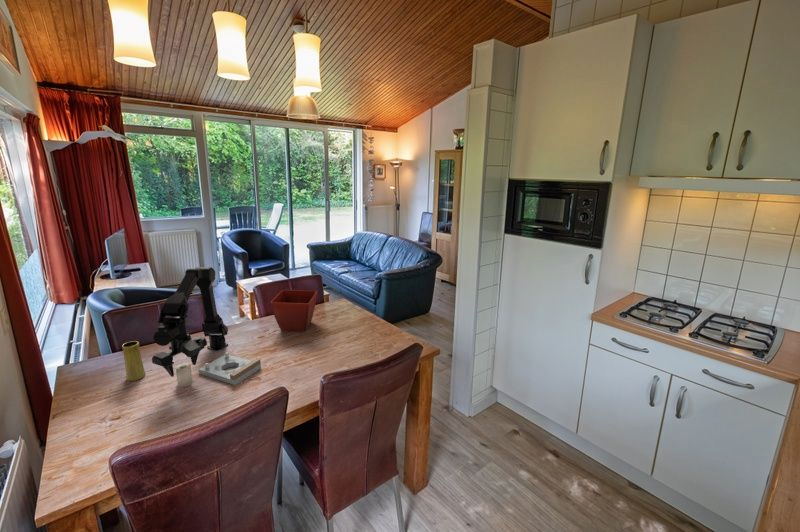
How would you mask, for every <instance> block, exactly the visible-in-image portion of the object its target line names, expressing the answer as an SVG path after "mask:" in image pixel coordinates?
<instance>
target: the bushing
mask: <svg viewBox="0 0 800 532" xmlns="http://www.w3.org/2000/svg"><path fill="white" fill-rule="evenodd" d="M191 366H192V365H191V364H190V363H182V364H179V365H177V366H175V374H176V375H175V376H176V381H177V386H178V387H180V388H184V387H188V386H190V385H192V384H193V382H194V381H193V374H192V367H191Z"/></svg>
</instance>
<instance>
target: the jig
mask: <svg viewBox="0 0 800 532" xmlns="http://www.w3.org/2000/svg"><path fill="white" fill-rule="evenodd" d="M261 362H262V361H261V359H260V358H257V357H256V358H255V359H253V360H249V359H245V358H242V357H239V356H235V355H232V354H230V352H229V351H226V352H224V354H223V355H222V356H220V357H218V358H217V359H215V360H213V361H211V362H206V363H204V366H202V367H200V368H198V373H199V374H200V375H202V376H206V377H208V378H211V379H215V380H218V381H222V382H225V383H228V384H231V385H233V386H235V385H237V384H238V383H240V382H242V381H243V380H245V379H246V378H248V377H249V376H251V375H252V374H255V372H257V371H258V370H260V369H261V368H262V365H261V364H262V363H261ZM232 367H236V368H234V369H230V370H225V369H227V368H232Z"/></svg>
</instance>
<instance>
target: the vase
mask: <svg viewBox="0 0 800 532" xmlns="http://www.w3.org/2000/svg"><path fill="white" fill-rule="evenodd" d="M121 347H122V352H123V357H124V359H123V360H124V365H125V372H126V373H125V374H126V375H125V376H126V380H127V381H128V382H129V381H130V382H135V381H139V380H140V379H142V378H144V377H145V376H146V371H145V367H144V363H143V360H142V359H143V358H142V354H141V349H140V342H139V341H138V340H133V341H132V340H131V341H127V342H125V343H123V344H122V345H121Z"/></svg>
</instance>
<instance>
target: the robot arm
mask: <svg viewBox="0 0 800 532" xmlns="http://www.w3.org/2000/svg"><path fill="white" fill-rule="evenodd" d="M215 280H216V270H215V268H213V267H211V266H210V267H209V266H208V267H207V266H205V267H204V266H199V267H198V266H196V267H194V268H187V269H186V270H185V273H184V276H183V277H182V280H181V282H180V283H179V285H178V287H177V289H176V291H175V292H174V294H173V295H171V296H169V297H167V299H166V300H165V302H163V304H162V306H161V309H160V314H159V317H158V322H157V323H158V324H162V325H159V326H158V327H157V331H156V332H154V334H153V336H152V338H153V341H154V343H156V344H157V345H158V346H161V347H162V346H163V347H165V346H168V345H169V344H170V346H168V349H169V350H171V351H169V352H165V351H161V352H159V353H157V354H155V355H153V356H152V357H151V363H152V364H154V365H157V366H160V367H162V368H163V369H165V370H166V372H167V373H168V374H169V376H170V377H171V378H174V376H175V374H174V373H175V371H174V366H173V365H174V364H175V362H174V361H173V360H174V357H175V356H177V355H180V354H183V355H185V356H186V357H187V358H190V361H191V363H192V366H196V364H197V362H198V361H197V360H198V358H199V354H200V353H201V351H202V350H203V349H205V347H206V346H207V347H206V348H207V349H210V350H213V351H216V352H217V351H220V350H221V349H224V348H225V347H227V346H229V343H227V342H226V338H225V336H228V333H229V332H228V331H229V328H228V326H227V325H226V324H225V323H224V321H223V318H222V317H221V316H220V315H219V314H218V311H217V310H218V309H217V304H216V300H215V293H214V287H213V284H214V282H215ZM196 286H197V287H198V288H199V290H200V291H199V292H200V296H201V300H202V301H201V302H202V306H203V311H204V320H203V322H202V323H201V327H202V332H203V335H204V337H201V336H194V337H191V334H189V333H188V330H187V322H186V320H187V318H188V312H189V311H188V310H189V307H190V305H189V298H190V297H191V295H192V292H193V291H194V289H195V287H196ZM206 337H208V340H209V345H208V341H207V339H206Z"/></svg>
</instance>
